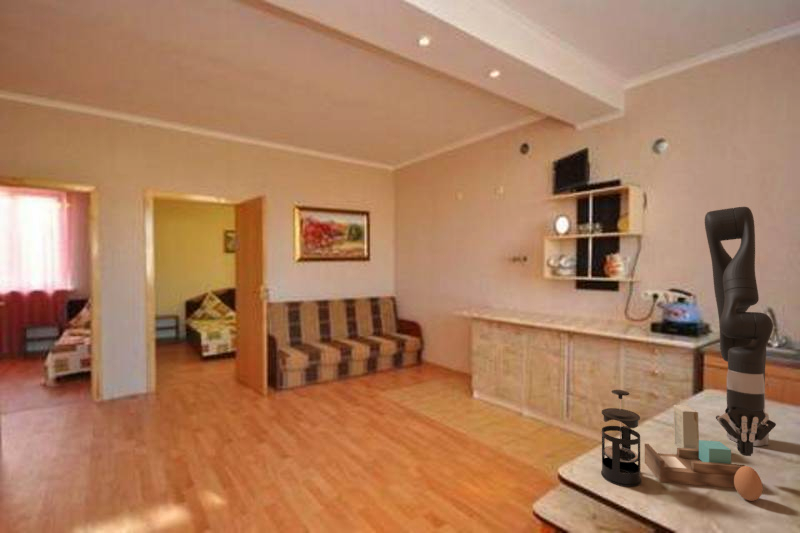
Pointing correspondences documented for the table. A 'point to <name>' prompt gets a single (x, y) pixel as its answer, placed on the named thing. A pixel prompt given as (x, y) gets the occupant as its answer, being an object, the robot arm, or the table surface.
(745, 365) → the robot arm
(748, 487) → the egg
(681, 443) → the skincare box
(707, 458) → the block
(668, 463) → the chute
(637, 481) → the french press
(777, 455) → the table surface
